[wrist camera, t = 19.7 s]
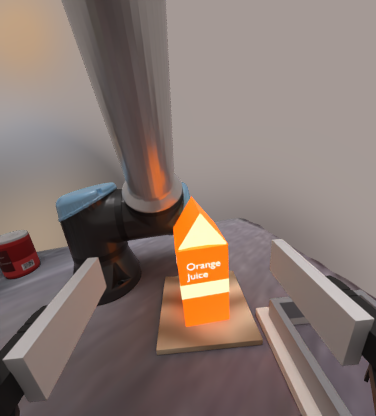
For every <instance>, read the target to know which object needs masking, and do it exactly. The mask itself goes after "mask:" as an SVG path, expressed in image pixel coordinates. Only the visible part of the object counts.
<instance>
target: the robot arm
mask: <svg viewBox="0 0 376 416" xmlns="http://www.w3.org/2000/svg"><path fill="white" fill-rule="evenodd" d="M62 3H63V6H64V9H65V12H66V14H67V17H68V20H69V23H70V25H71V28H72V31H73V34H74V37H75V39H76V42H77V45H78V48H79V51H80V54H81V56H82V59H83V62H84V65H85V68H86V70H87V73H88V76H89V79H90V82H91V85H92V87H93V90H94V93H95V96H96V99H97V101H98V104H99V107H100V109H101V113H102V115H103V118H104V121H105V123H106V126H107V129H108V132H109V134H110V137H111V141H112V143H113V146H114V149H115V152H116V154H117V157H118V160H119V163H120V166H121V168H122V171H123V174H124V177H125V180H126V181H125V183H124V185H123V187H122V189H117V186H116V185H115V184H114V183H104V184H99V185H95V186H91V187H87V188H83V189H80V190H77V191H74V192H71V193H68V194H65V195H63V196H61V197H60V198H59V199H58V200H57V202H56V208H57V213H58V218H59V219H58V220H59V222H60V223H61V226H62V229H63V232H64V235H65V238H66V240H67V244H68V247H69V249H70V252H71V255H72V258H73V261H74V271H73V276H72V277H71V279H70V280H69V281H68V282H67V283H66V285H65V286H64V287H63V288H62V289H61V291H60V292H59V293H58V294H57V295H56V297H55V298H54V299H53V300H52V301H51V303H50V304H49V305H47V306H43V307H41V308H40V309H39V310H38V311H36V312H35V313H34V314H33V315H32V316H31V317H30V318H29V319H28V320H27V321H26V323H25V324H24V326H22V327H21V328H20V329H19V330H18V332H17V334H15V335H14V336H13V337H12V338H11V339H10V341H9V342H8V343H7V344H6V345H5V346H4V347H3V349H2V350H1V351H0V416H20V410H19V407H18V405H17V404H18V403H19V401H20V400H21V398H22V396H23V395H25V397H26V398H27V400H28V401H29V402H37V401H46V400H47V399H48V398H49V396H50V394H51V392H52V390H53V388H54V386H55V384H56V382H57V380H58V379H59V377H60V375H61V373H62V371H63V369H64V367H65V365H66V363H67V361H68V359H69V358H70V356H71V354H72V352H73V350H74V348H75V346H76V344H77V342H78V340H79V338H80V337H81V335H82V333H83V331H84V329H85V327H86V325H87V323H88V321H89V319H90V318H91V316H92V314H93V312H94V310H95V308H96V306H97V305H100V304H104V303H108V302H111V301H113V300H116V299H118V298H120V297H121V296H123V295H125V294H126V293H128V292H129V291H130V290H131V289H132V288H133V287H134V286H135V285H136V284H137V283H138V281H139V279H140V277H141V268H140V264H139V261H138V260H137V258H136V256H135V255H134V253H133V252H132V250H131V249H130V247H129V246H128V242H127V241H129V240H136V239H142V238H149V237H156V236H163V235H174V232H173V228H174V227H173V226H175V224H176V222H177V221H178V219H179V217H180V215H181V214H182V212H183V210H184V208H185V207H186V205H187V203H188V201H189V200H190V196H189V191H188V187H187V185H186V184H185V183H183V182H181V181H180V179H179V177H178V176H177V175H176V174H175V173H174V164H173V143H172V122H171V101H170V82H169V81H170V80H169V61H168V39H167V19H166V0H62ZM270 271H271V273H272V274H273V275H274V277H275V278H276V279H277V281H278V282H279V283H280V285H281V286H282V287H283V289H284V290H285V291H286V292H287V294H288V295H289V296H290V298H291V299H292V300H293V302H294V303H295V304H296V306H297V307H298V308H299V310H300V311H301V312H302V314H303V315H304V316H305V318H306V319H307V320H308V322H309V323H310V324H311V326H312V327H313V328H314V330H315V331H316V332H317V334H318V335H319V336H320V338H321V339H322V340H323V342H324V343H325V344H326V345H327V347H328V348H329V349H330V351H331V352H332V353H333V355H334V356H335V357H336V359H337V360H338V361H339V363H340V364H341V365H342V366H348V365H356V364H359V362H360V359H361V356H362V355H363V357H364V358H365V359H366V360H367V361H368V362H369V363H370V364H369V366H368V369H367V371H366V374H365V378H364V381H366V382H368V380H369V378H370V383H371V389H372V396H373V402H374V408H375V415H376V309H375V308H374V307H372V306H371V305H370V304H369V303H367V302H366V301H365V300H364V299H362V298H361V297H360V296H358V295H357V294H356V293H355V292H354V291H353V290H350V288H349V287H348V286H346V285H345V284H344V283H343V282H341V281H340V280H338V279H336V278H334V277H332V276H324V275H323V274H322V273H321V272H320V271H318V270H317V269H316V268H315V267H314V266H313V265H311V264H310V263H309V262H308V261H307V260H306V259H305V258H303V257H302V256H301V255H300V254H299V253H298V252H296V251H295V250H294V249H293V248H292V247H291V246H290V245H288V244H287V243H286V242H285V241H284V240H283V239H277V240H272V247H271V259H270Z"/></svg>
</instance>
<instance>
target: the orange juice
mask: <svg viewBox="0 0 376 416" xmlns="http://www.w3.org/2000/svg"><path fill="white" fill-rule="evenodd" d="M173 227H174V228H173V232H174V243H175V254H176V257H177V262H176V263H177V265H178V272H179V279H180V289H181V296H182V301H183V309H184V316H185V324H186V327H189V326H194V325H200V324H205V323H211V322H216V321H222V320H227V319H229V273H228V243H227V242H226V240H225V239H224V237H223V236H222V234H221V233H220V231H219V229H218V228H217V226H216V225H215V223H214V222H213V221H212V220H211V218H210V217H209V216H208V215H207V214H206V213H205V212H204V210H203V209H202V208H201V207H200V206H199V205H198V204H197V203H196V202H195V200H194V199H193V198H192V197H191V198H190V200H189V201H188V203H187V205H186V207H185V208H184V210H183V212H182V214H181V215H180V217H179V219H178V221H177V222H176V224H175V226H173Z"/></svg>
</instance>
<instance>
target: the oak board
mask: <svg viewBox="0 0 376 416" xmlns="http://www.w3.org/2000/svg"><path fill="white" fill-rule="evenodd" d="M228 273H229V319H227V320H222V321H216V322H211V323H205V324H200V325H194V326H189V327H186V324H185V316H184V309H183V301H182V296H181V289H180V279H179V276H172V277H165V284H164V292H163V300H162V308H161V316H160V324H159V332H158V340H157V348H156V352H157V355H162V354H172V353H182V352H193V351H203V350H213V349H223V348H233V347H243V346H253V345H262V343H263V339H262V337H261V335H260V332H259V330H258V328H257V325H256V323H255V321H254V319H253V316H252V314H251V312H250V309H249V307H248V305H247V302H246V300H245V298H244V295H243V293H242V291H241V289H240V286H239V284H238V282H237V279H236V277H235V275H234V272H233V271H228Z"/></svg>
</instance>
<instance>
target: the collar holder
mask: <svg viewBox="0 0 376 416" xmlns="http://www.w3.org/2000/svg"><path fill="white" fill-rule="evenodd" d="M353 291H354V292H355V293H356V294H357V295H358V296H360V297H361V298H362V299H364V300H365V301H366V302H367V303H369V304H370V305H371V306H372V307H374V308H375V309H376V301H375V300H374V299H372V298H371V297H370V296H368V295H367V294H366V293H365V292H363V291H362V290H353ZM256 317H257V319H258V321H259V323H260V325H261V328H262V330H263V332H264V334H265V336H266V339H267V341H268V343H269V345H270V347H271V349H272V352H273V354H274V356H275V358H276V360H277V363H278V365H279V367H280V369H281V371H282V374H283V376H284V378H285V380H286V382H287V384H288V387H289V389H290V391H291V393H292V395H293V398H294V400H295V402H296V404H297V406H298V409H299V411H300V413H301V415H302V416H352V415H351V413H350V412H349V410H348V409H347V407H346V406H345V404H344V403H343V401H342V400H341V398H340V396H339V395H338V393H337V392H336V390H335V389H334V387H333V386H332V384H331V383H330V381H329V379H328V378H327V376H326V375H325V373H324V372H323V370H322V369H321V367H320V366H319V364H318V362H317V361H316V359H315V358H314V356H313V355H312V353H311V352H310V350H309V349H308V347H307V345H306V344H305V342H304V341H303V339H302V338H301V336H300V335H299V333H298V332H297V330H296V328H295V327H294V325H298V324H309V322H308V320H307V319H306V318H305V316H304V315H303V314H302V312H301V311H300V310H299V308H298V307H297V306H296V304H295V303H294V302H293V300H292V299H291V298H290V297H281V298H270V301H269V307H263V308H256Z"/></svg>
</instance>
